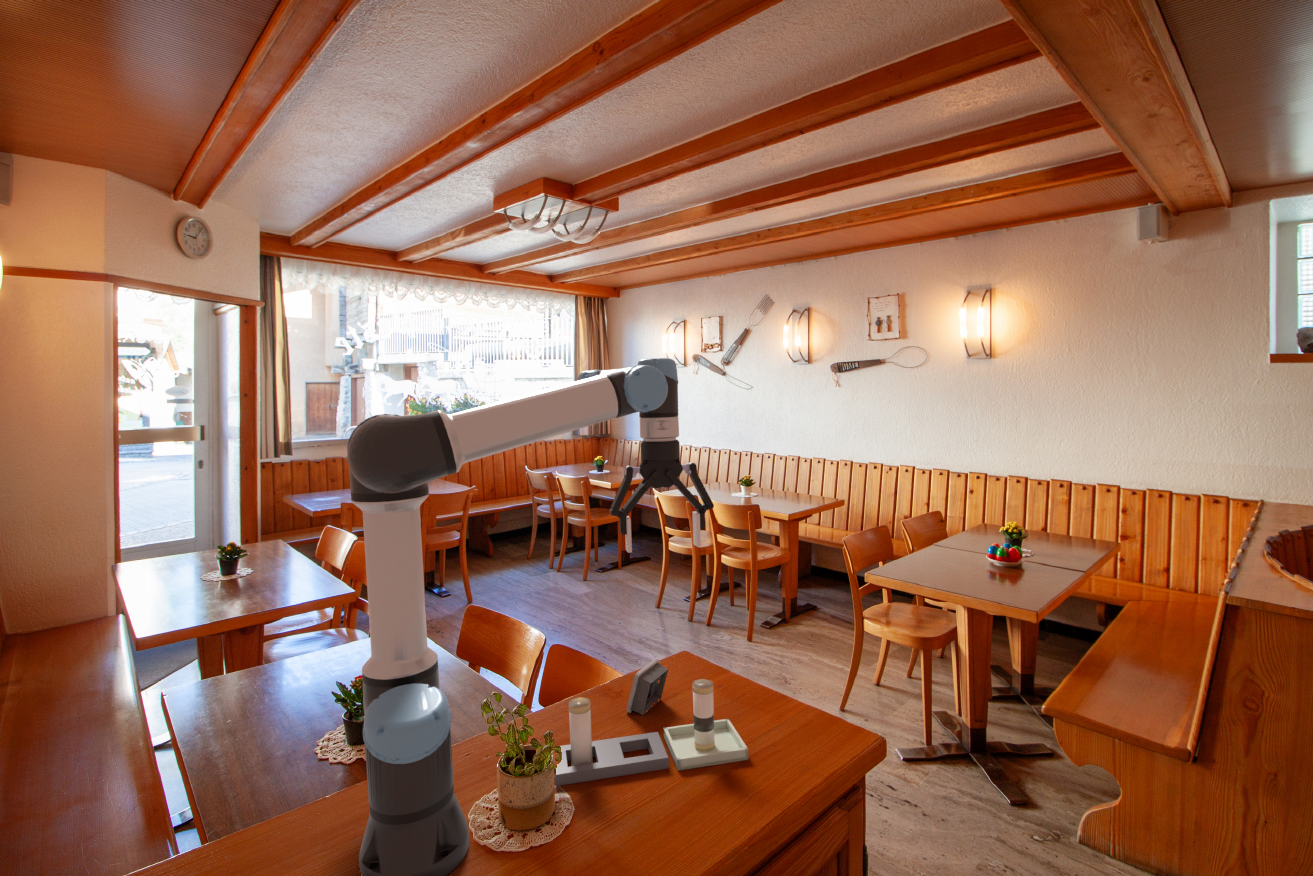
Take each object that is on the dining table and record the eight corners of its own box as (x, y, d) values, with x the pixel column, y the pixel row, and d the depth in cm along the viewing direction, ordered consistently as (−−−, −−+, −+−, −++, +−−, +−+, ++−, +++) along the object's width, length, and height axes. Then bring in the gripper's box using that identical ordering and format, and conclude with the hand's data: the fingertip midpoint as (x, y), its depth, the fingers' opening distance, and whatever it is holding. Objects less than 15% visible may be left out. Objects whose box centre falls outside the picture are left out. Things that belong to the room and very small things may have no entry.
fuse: (572, 774, 113) (569, 709, 112) (570, 762, 116) (567, 699, 116) (593, 771, 114) (591, 706, 113) (591, 759, 117) (588, 696, 116)
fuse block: (555, 786, 110) (555, 775, 109) (552, 757, 118) (552, 747, 118) (668, 768, 114) (668, 757, 114) (658, 741, 123) (657, 731, 122)
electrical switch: (647, 694, 142) (649, 655, 141) (668, 701, 140) (670, 661, 138) (625, 713, 134) (627, 671, 133) (646, 721, 131) (648, 679, 130)
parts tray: (677, 770, 113) (677, 759, 113) (663, 737, 124) (663, 728, 124) (748, 759, 116) (748, 749, 116) (728, 728, 127) (728, 718, 126)
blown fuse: (691, 742, 121) (690, 680, 120) (711, 739, 122) (709, 678, 121) (697, 752, 117) (695, 689, 117) (717, 749, 118) (715, 687, 117)
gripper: (597, 443, 116) (601, 558, 118) (727, 437, 122) (730, 547, 123) (592, 441, 124) (597, 548, 125) (716, 435, 129) (718, 538, 130)
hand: (663, 548), depth 124 cm, fingers open, 13 cm apart
